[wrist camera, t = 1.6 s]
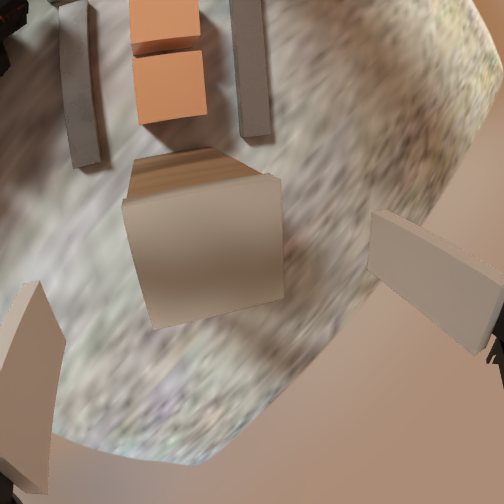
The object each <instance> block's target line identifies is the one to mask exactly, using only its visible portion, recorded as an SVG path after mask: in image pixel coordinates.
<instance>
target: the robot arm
mask: <svg viewBox="0 0 504 504" xmlns="http://www.w3.org/2000/svg"><path fill="white" fill-rule="evenodd" d="M367 270H368V271H369V272H371V273H372V274H373V275H375V276H376V277H377V278H378V279H380V280H381V281H382V282H384V283H385V284H386V285H388V286H389V287H390V288H391V289H393V290H394V291H395V292H397V293H398V294H399V295H400V296H401V297H403V298H404V299H405V300H406V301H408V302H409V303H410V304H412V305H413V306H414V307H415V308H416V309H418V310H419V311H420V312H421V313H423V314H424V315H425V316H426V317H427V318H429V319H430V320H431V321H432V322H434V323H435V324H436V325H437V326H438V327H440V328H441V329H442V330H443V331H444V332H446V333H447V334H448V335H449V336H450V337H452V338H453V339H454V340H455V341H456V342H457V343H459V344H460V345H461V346H462V347H463V348H464V349H466V350H467V351H468V352H469V353H470V354H471V355H472V356H475V355H477V354H478V353H479V352H481V351H482V350H483V349H485V348H486V346H487V344H488V341H489V339H490V337H491V334H494V335H495V336H496V337H497V338H496V340H495V342H494V344H493V346H492V349H491V351H490V353H489V355H488V357H487V359H486V361H487V364H489V362H490V360H491V358H492V356H493V355H496V356H495V358H494V360H493V364H498V365H499V369H500V373H501V378H502V382H503V387H504V274H503V273H501V272H499V271H498V270H496V269H495V268H493V267H492V266H490V265H488V264H486V263H485V262H483V261H481V260H480V259H478V258H476V257H475V256H473V255H471V254H469V253H467V252H466V251H464V250H462V249H460V248H459V247H457V246H455V245H453V244H452V243H450V242H448V241H446V240H444V239H442V238H441V237H439V236H437V235H435V234H433V233H431V232H429V231H427V230H425V229H424V228H422V227H420V226H418V225H416V224H414V223H412V222H410V221H408V220H406V219H404V218H402V217H400V216H398V215H396V214H394V213H392V212H390V211H388V210H386V209H384V210H379V211H373V212H372V215H371V230H370V242H369V253H368V263H367ZM65 345H66V339H65V337H64V335H63V333H62V331H61V329H60V327H59V325H58V323H57V320H56V318H55V316H54V314H53V312H52V309H51V307H50V305H49V302H48V300H47V298H46V295H45V293H44V290H43V288H42V285H41V283H40V281H35V282H31V283H27V284H23V285H22V287H21V289H20V290H19V292H18V294H17V296H16V298H15V300H14V301H13V303H12V305H11V307H10V309H9V311H8V313H7V315H6V317H5V319H4V321H3V323H2V325H1V327H0V504H23V503H22V502H21V501H20V499H19V498H18V497H17V496H16V495H15V494H14V493H13V484H15V485H16V486H17V487H19V488H20V489H21V490H23V491H24V492H25V493H31V494H48V473H49V454H50V441H51V431H52V422H53V414H54V406H55V399H56V393H57V387H58V381H59V375H60V369H61V364H62V359H63V354H64V349H65Z"/></svg>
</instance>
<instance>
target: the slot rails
mask: <svg viewBox="0 0 504 504" xmlns="http://www.w3.org/2000/svg"><path fill="white" fill-rule="evenodd" d="M229 2H230V15H231V27H232V40H233V52H234V65H235V78H236V90H237V102H238V115H239V127H240V136H242V137H251V136H261V135H271V128H270V112H269V97H268V83H267V70H266V57H265V44H264V32H263V20H262V9H261V0H229ZM59 55H60V72H61V85H62V96H63V105H64V113H65V121H66V128H67V135H68V141H69V147H70V153H71V159H72V164H73V169H75V168H78V167H82V166H86V165H90V164H94V163H98V162H101V161H102V154H101V148H100V141H99V135H98V128H97V120H96V113H95V104H94V95H93V85H92V73H91V60H90V41H89V2H88V0H79V1H76V2H72V3H68V4H65V5H62V6H59Z"/></svg>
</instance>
